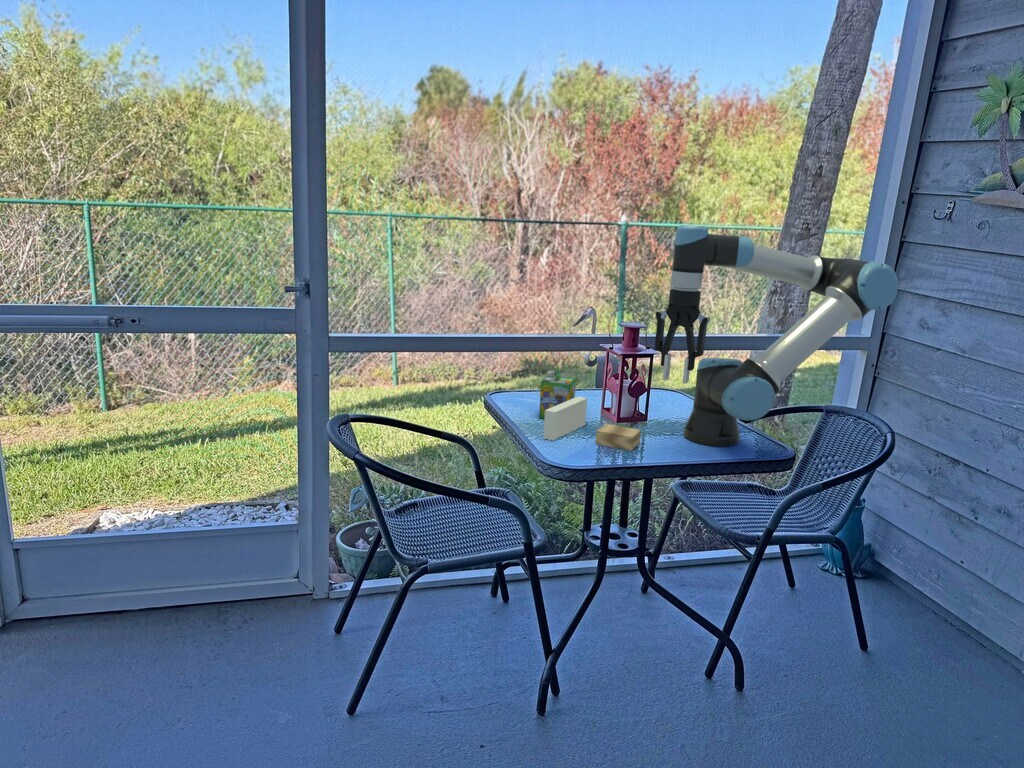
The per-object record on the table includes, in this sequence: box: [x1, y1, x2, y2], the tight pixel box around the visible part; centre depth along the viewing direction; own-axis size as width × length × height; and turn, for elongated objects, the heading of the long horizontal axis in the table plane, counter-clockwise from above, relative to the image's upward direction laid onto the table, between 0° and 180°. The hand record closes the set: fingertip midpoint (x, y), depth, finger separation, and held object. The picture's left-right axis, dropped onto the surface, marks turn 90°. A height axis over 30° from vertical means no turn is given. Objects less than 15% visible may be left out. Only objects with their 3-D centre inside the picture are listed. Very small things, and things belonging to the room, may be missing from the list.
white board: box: [542, 396, 588, 442], centre depth 205 cm, size 3×20×8 cm, turn 149°
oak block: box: [594, 423, 642, 451], centre depth 198 cm, size 10×8×4 cm
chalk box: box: [538, 366, 577, 420], centre depth 219 cm, size 9×9×15 cm
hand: (675, 380), depth 187 cm, fingers open, 4 cm apart
